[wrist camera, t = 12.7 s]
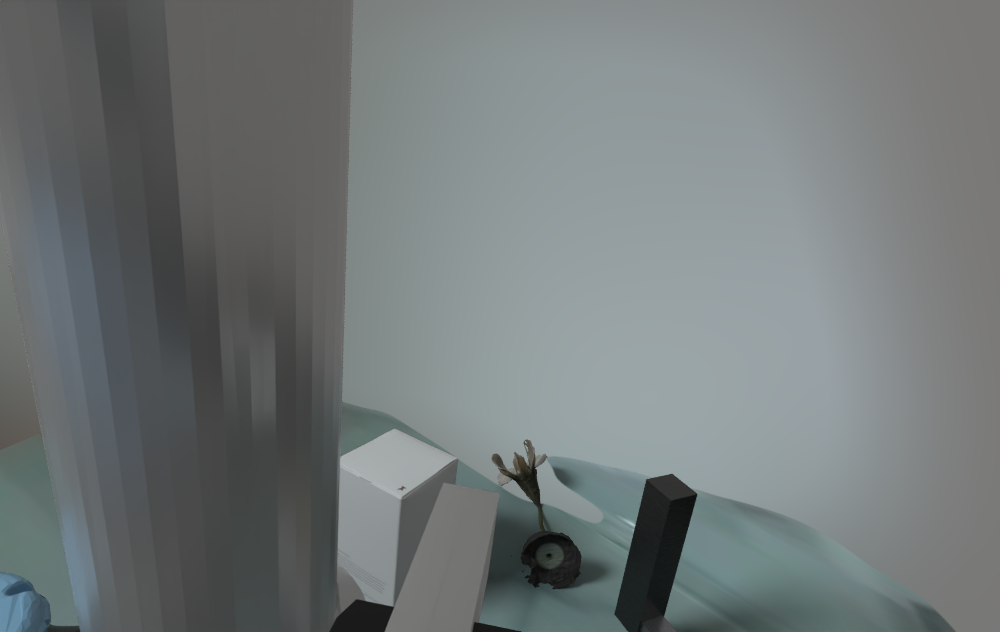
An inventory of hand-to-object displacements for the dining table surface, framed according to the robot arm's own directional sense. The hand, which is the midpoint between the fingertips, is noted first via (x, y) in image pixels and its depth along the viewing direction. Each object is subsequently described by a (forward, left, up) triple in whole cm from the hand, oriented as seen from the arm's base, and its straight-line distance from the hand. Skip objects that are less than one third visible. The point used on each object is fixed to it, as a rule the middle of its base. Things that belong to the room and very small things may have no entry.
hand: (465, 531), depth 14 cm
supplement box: (-11, +32, -35) cm, 49 cm away
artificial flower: (+3, +46, -36) cm, 58 cm away
